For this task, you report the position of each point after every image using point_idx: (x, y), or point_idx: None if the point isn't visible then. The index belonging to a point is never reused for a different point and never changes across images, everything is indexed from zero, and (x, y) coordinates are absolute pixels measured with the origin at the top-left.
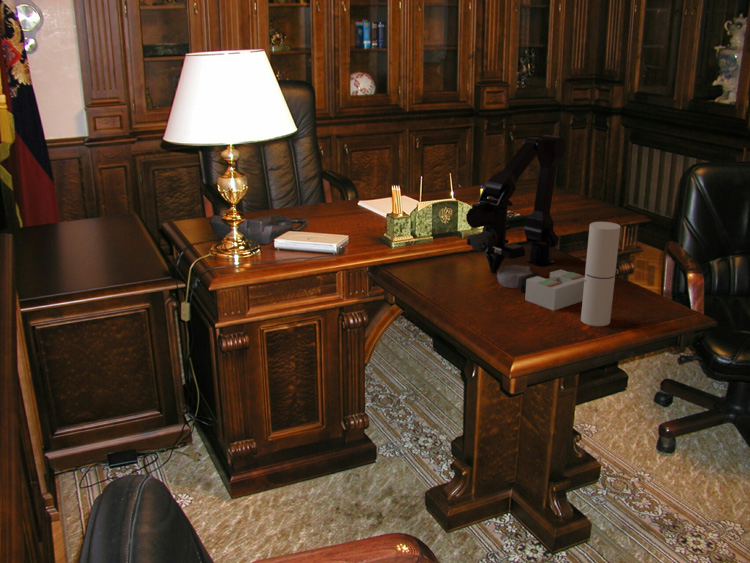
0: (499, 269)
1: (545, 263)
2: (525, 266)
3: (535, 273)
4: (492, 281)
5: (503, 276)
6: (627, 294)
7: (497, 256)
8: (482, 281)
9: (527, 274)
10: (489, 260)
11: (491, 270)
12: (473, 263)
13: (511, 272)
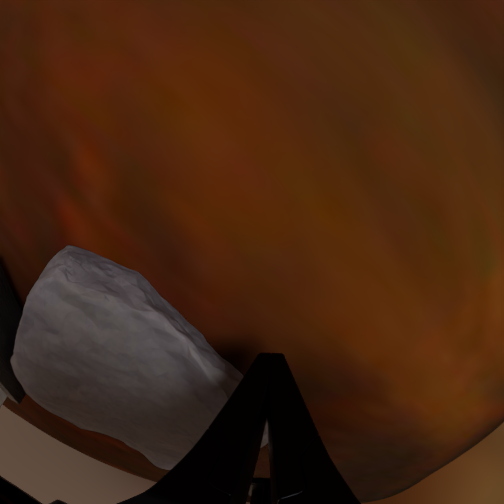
0: None
1: (252, 488)
2: (173, 465)
3: (4, 390)
4: (203, 268)
5: (43, 300)
6: (10, 401)
7: (53, 501)
8: (256, 197)
9: (19, 380)
10: (295, 461)
11: (279, 370)
12: (494, 376)
13: (90, 386)
